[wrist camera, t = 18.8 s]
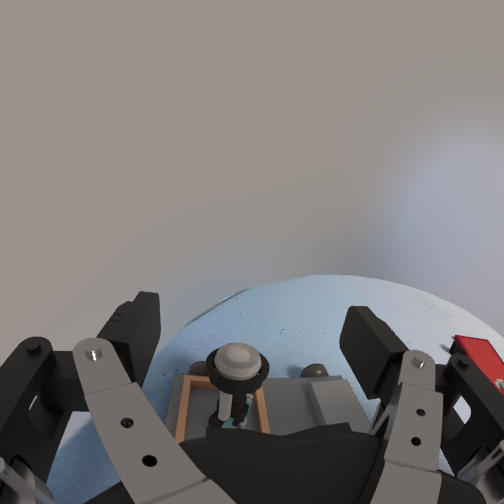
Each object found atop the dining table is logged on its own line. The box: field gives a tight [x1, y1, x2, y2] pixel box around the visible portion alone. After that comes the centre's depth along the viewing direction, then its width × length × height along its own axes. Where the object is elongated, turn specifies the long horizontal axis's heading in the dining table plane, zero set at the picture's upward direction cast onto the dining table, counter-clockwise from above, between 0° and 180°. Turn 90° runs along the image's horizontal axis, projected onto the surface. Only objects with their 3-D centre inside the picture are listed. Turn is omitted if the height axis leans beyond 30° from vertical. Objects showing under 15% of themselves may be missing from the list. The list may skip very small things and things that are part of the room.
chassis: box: [165, 361, 371, 443], centre depth 25 cm, size 22×17×4 cm
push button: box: [206, 343, 269, 429], centre depth 23 cm, size 7×5×10 cm
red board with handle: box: [449, 335, 504, 396], centre depth 31 cm, size 30×3×15 cm
